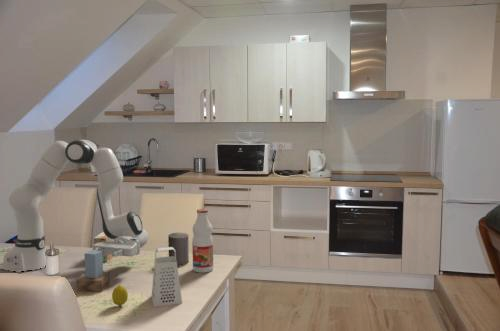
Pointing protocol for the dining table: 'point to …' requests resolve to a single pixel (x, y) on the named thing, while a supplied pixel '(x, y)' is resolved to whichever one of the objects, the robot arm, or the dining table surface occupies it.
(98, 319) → the dining table surface
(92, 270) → the slate block
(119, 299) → the lemon
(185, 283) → the dining table surface
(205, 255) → the fruit juice
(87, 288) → the walnut block
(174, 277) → the grater
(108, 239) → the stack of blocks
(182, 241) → the pillar candle
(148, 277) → the dining table surface
